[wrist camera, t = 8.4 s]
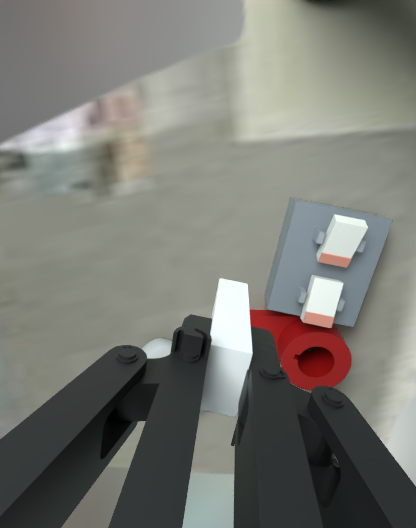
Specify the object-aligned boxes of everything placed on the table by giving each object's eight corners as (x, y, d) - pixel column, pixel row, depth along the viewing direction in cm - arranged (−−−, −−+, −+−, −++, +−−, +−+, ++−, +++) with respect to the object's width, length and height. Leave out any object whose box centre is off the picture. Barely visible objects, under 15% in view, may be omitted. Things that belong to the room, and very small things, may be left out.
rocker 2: (311, 274, 42) (315, 277, 40) (339, 280, 42) (344, 283, 40) (300, 317, 43) (303, 322, 41) (327, 323, 43) (331, 328, 41)
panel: (290, 197, 45) (299, 203, 38) (378, 214, 44) (404, 224, 38) (264, 295, 49) (268, 316, 43) (344, 311, 49) (361, 335, 42)
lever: (346, 319, 50) (361, 342, 43) (325, 369, 53) (336, 397, 46) (232, 290, 50) (231, 308, 44) (217, 341, 53) (215, 366, 46)
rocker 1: (334, 214, 38) (336, 222, 36) (364, 220, 38) (368, 228, 36) (316, 254, 42) (317, 262, 40) (344, 259, 42) (346, 268, 40)
